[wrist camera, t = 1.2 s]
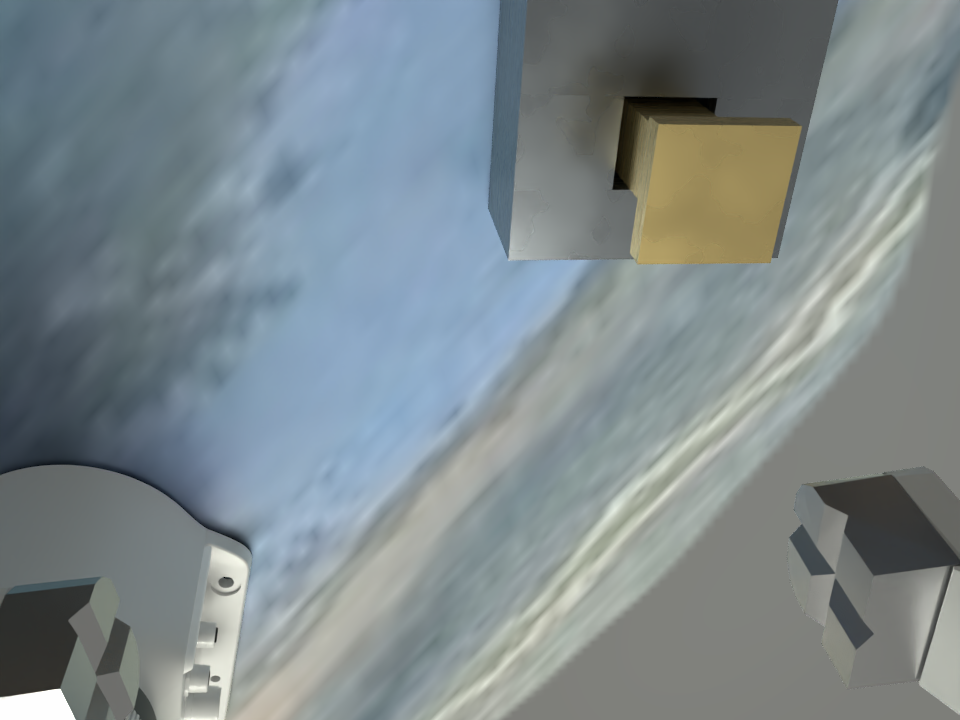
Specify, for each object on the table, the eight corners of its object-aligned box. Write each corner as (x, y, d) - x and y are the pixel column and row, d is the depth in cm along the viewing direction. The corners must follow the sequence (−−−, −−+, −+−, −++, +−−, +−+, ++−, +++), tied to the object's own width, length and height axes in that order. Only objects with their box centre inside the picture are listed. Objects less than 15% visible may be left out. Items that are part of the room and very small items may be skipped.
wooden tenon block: (699, 191, 39) (770, 263, 33) (587, 191, 38) (637, 264, 32) (721, 73, 37) (802, 126, 30) (601, 71, 36) (658, 124, 30)
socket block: (727, 208, 45) (777, 258, 40) (488, 208, 43) (508, 260, 38) (825, -285, 35) (910, -304, 30) (518, -310, 33) (551, -335, 28)
